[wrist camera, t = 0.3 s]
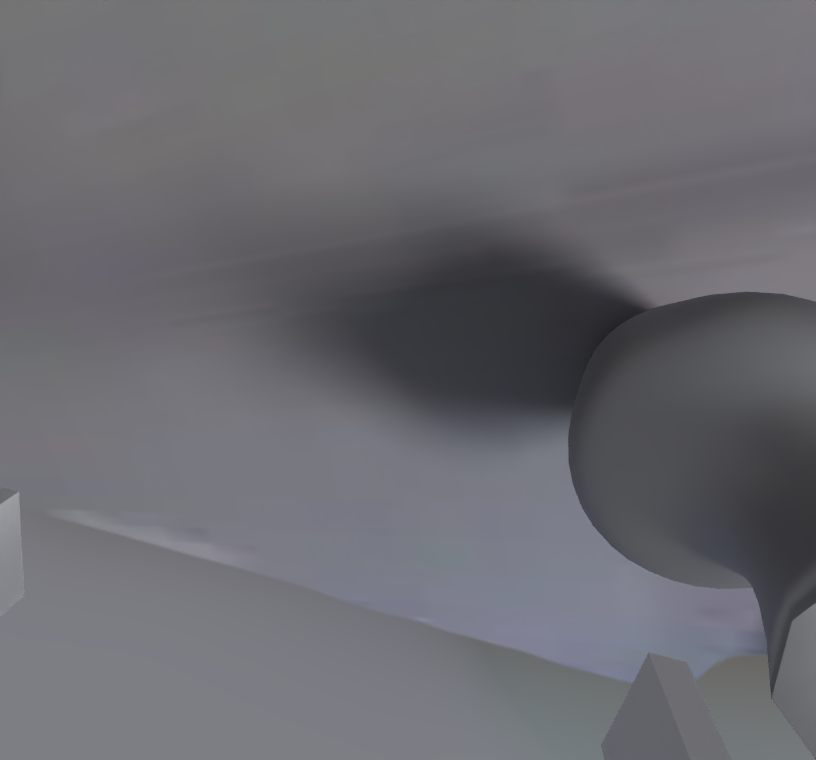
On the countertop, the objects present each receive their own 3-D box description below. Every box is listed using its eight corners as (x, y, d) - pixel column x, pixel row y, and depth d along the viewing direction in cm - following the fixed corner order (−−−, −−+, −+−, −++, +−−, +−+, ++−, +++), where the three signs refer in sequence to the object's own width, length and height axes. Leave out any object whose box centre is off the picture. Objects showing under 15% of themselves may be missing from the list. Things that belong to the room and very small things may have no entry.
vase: (507, 423, 39) (568, 773, 16) (584, 228, 34) (846, 315, 11) (694, 481, 39) (1036, 918, 16) (800, 295, 34) (1539, 529, 11)
